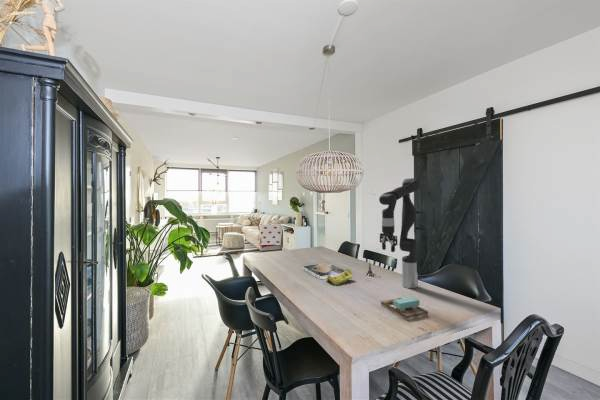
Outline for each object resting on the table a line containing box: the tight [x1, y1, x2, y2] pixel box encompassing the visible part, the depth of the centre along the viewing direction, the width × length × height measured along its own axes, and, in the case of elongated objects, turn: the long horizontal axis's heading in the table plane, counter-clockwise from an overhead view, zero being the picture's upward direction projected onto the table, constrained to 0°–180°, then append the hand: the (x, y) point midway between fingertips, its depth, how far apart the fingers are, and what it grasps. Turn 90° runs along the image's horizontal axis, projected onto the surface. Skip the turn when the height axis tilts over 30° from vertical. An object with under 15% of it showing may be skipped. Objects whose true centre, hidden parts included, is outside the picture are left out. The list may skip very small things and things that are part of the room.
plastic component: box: [325, 268, 354, 286], centre depth 199 cm, size 20×7×10 cm
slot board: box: [380, 297, 429, 321], centre depth 146 cm, size 14×20×2 cm
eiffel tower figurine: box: [365, 262, 381, 278], centre depth 213 cm, size 15×10×13 cm
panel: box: [393, 296, 420, 311], centre depth 144 cm, size 13×5×6 cm, turn 110°
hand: (388, 250), depth 169 cm, fingers open, 8 cm apart
